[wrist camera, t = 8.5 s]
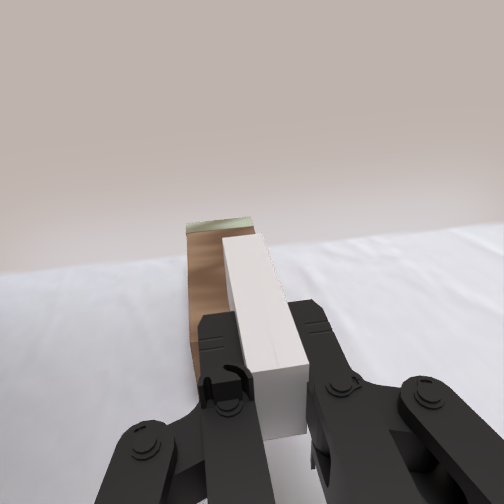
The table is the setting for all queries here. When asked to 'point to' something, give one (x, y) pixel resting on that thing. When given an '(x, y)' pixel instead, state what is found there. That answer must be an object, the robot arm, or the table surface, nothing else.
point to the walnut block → (209, 272)
